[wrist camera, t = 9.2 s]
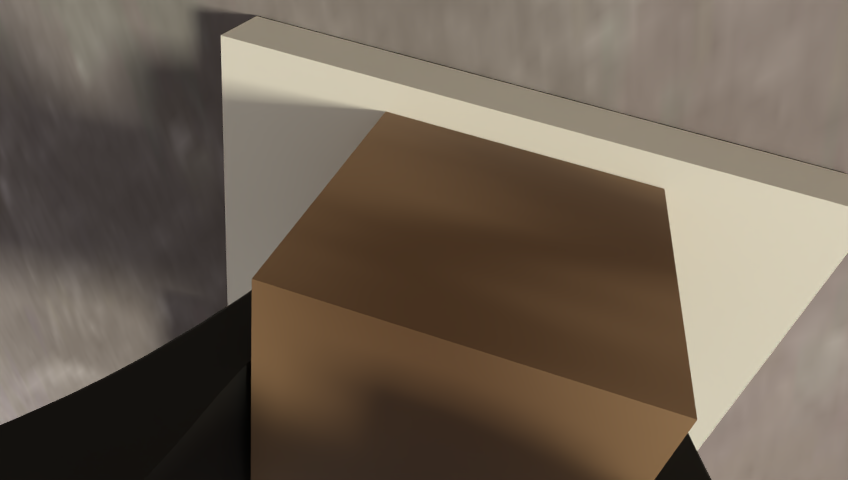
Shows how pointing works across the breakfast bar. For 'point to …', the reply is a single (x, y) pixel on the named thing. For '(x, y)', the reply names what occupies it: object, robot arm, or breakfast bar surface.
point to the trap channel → (550, 136)
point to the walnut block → (469, 321)
